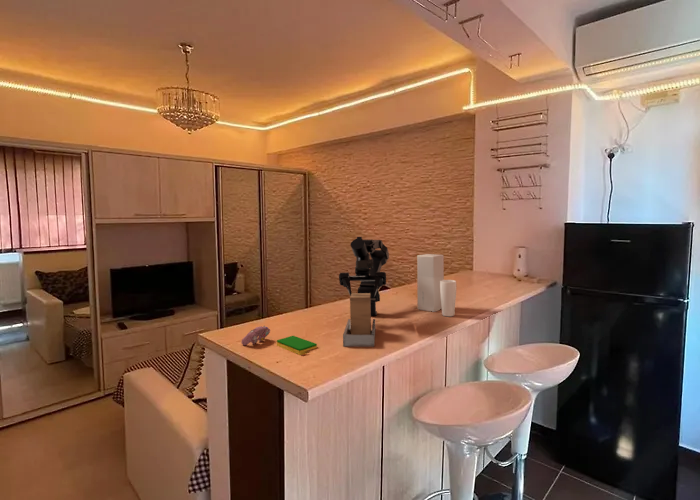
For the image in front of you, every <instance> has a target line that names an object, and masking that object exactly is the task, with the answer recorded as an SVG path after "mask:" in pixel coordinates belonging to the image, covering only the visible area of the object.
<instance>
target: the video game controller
mask: <svg viewBox="0 0 700 500" xmlns="http://www.w3.org/2000/svg"><path fill="white" fill-rule="evenodd" d="M270 333H271V329H270V328H269V327H267V326H266V325H263V326H256V327H255V328H253V329H251V330H250V331H249V332H248V333H247V334H245V336H243V338H242V339H241V341H240V342H241V345H242V344H243V345H242V346H247V345H248V344H253V345H255V343H256V344H257V343H258V342H260V343H261V342H263V341H264V339H265V338H266V337H268V336H269V335H270Z"/></svg>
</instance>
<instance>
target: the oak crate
mask: <svg viewBox="0 0 700 500" xmlns="http://www.w3.org/2000/svg"><path fill="white" fill-rule="evenodd" d="M351 293H352V292H351ZM370 297H371V294H370V293H358V292H357V293H356V292H355V293H352V294H351V296H350V295H349V306H350V307H349V309H350V310H349V313H350V314H349V315H350V322H351V330H350V334H369V335H372V319H371V318H372V316H371V303H370Z"/></svg>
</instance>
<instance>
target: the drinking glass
mask: <svg viewBox="0 0 700 500" xmlns="http://www.w3.org/2000/svg"><path fill="white" fill-rule="evenodd" d="M440 295H441V306H442V309H441V315H442V316H443V317H454V316H455V315H456V314H455V312H456V309H455V308H456V300H457V280H454V279H444V280H441V281H440Z"/></svg>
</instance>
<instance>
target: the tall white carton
mask: <svg viewBox="0 0 700 500" xmlns="http://www.w3.org/2000/svg"><path fill="white" fill-rule="evenodd" d="M416 257H417V258H416V259H417V261H416V262H417V263H416V265H417V268H416V269H417V272H416V273H417V275H416V276H417V277H416V279H417V282H416V283H417V284H416V285H417V287H416V288H417V294H416V295H417V310H418V311H420V310H421V311H426V312H431V311H432V313H435V312H438V311H440V309H441V310H442V306H441V295H440V281H441V280H445V278H444V277H445V276H444V272H445V271H444V270H445V269H444V265H445V263H444V260H445V259H444V254H435V253H434V254H433V253H425V254H424V253H423V254H419V255H416Z"/></svg>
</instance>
